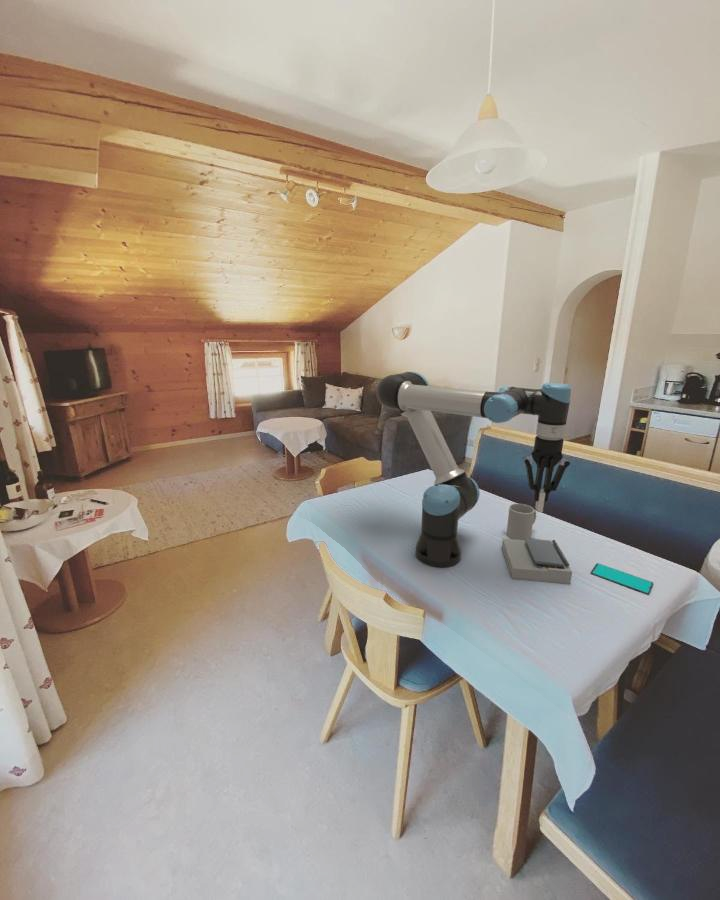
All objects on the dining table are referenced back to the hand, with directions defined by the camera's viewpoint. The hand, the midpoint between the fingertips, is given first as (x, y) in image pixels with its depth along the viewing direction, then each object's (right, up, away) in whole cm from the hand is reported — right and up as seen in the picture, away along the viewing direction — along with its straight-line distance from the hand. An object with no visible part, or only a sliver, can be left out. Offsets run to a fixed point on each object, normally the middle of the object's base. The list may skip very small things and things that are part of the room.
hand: (538, 510), depth 121 cm
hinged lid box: (+1, -18, +5) cm, 19 cm away
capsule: (+4, -16, +4) cm, 17 cm away
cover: (+4, -14, +4) cm, 15 cm away
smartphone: (+24, -21, -2) cm, 32 cm away
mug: (+5, -13, +24) cm, 28 cm away
